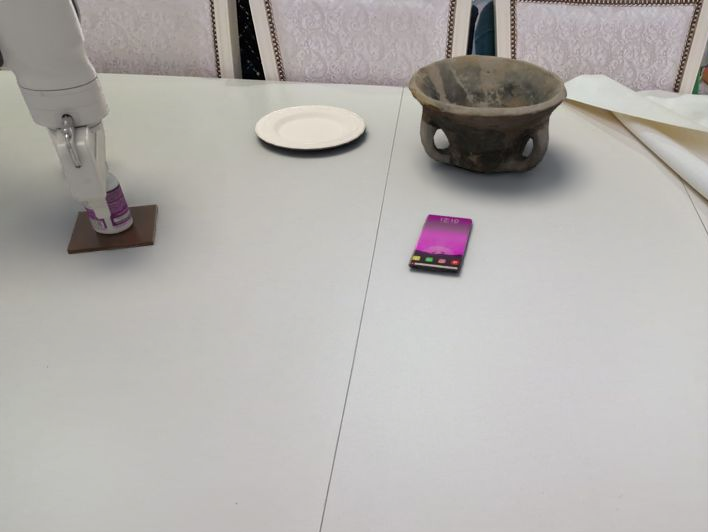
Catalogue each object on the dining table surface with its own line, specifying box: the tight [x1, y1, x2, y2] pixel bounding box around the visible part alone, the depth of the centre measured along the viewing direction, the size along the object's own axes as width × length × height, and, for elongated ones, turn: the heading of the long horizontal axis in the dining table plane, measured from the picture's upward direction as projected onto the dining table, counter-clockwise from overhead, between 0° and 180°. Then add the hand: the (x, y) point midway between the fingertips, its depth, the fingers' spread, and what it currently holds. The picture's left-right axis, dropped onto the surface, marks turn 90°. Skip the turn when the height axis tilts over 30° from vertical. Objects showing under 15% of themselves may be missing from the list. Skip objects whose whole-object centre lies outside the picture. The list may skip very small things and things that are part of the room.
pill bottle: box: [76, 160, 133, 234], centre depth 87 cm, size 5×5×10 cm
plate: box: [254, 104, 366, 151], centre depth 119 cm, size 21×21×2 cm
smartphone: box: [407, 213, 473, 274], centre depth 92 cm, size 7×15×1 cm, turn 172°
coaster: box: [66, 203, 158, 255], centre depth 91 cm, size 11×11×1 cm
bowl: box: [408, 54, 568, 174], centre depth 109 cm, size 27×26×15 cm
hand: (104, 200), depth 88 cm, fingers open, 8 cm apart
